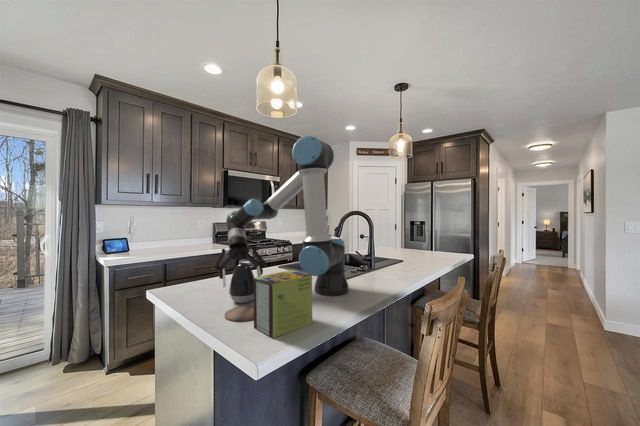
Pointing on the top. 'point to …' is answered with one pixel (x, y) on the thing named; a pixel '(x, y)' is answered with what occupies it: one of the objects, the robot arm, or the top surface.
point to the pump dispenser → (242, 284)
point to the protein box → (282, 302)
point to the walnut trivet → (240, 314)
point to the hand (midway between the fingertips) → (242, 283)
